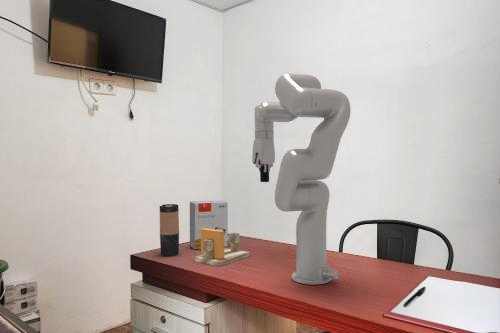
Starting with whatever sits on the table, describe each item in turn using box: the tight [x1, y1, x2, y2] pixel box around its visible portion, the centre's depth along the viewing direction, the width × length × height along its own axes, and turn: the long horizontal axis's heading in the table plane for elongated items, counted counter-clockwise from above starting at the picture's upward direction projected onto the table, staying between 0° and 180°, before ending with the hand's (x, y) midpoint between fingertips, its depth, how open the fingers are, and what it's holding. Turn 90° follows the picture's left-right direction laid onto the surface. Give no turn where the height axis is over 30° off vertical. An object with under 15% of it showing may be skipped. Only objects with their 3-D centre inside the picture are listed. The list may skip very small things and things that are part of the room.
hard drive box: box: [189, 199, 229, 250], centre depth 170 cm, size 16×8×20 cm, turn 113°
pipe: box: [213, 234, 236, 246], centre depth 150 cm, size 3×17×3 cm, turn 144°
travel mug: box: [159, 203, 180, 257], centre depth 157 cm, size 8×8×20 cm
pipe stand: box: [193, 232, 251, 267], centre depth 150 cm, size 13×18×8 cm
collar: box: [200, 228, 225, 259], centre depth 145 cm, size 10×2×10 cm, turn 53°
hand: (264, 181), depth 155 cm, fingers closed
